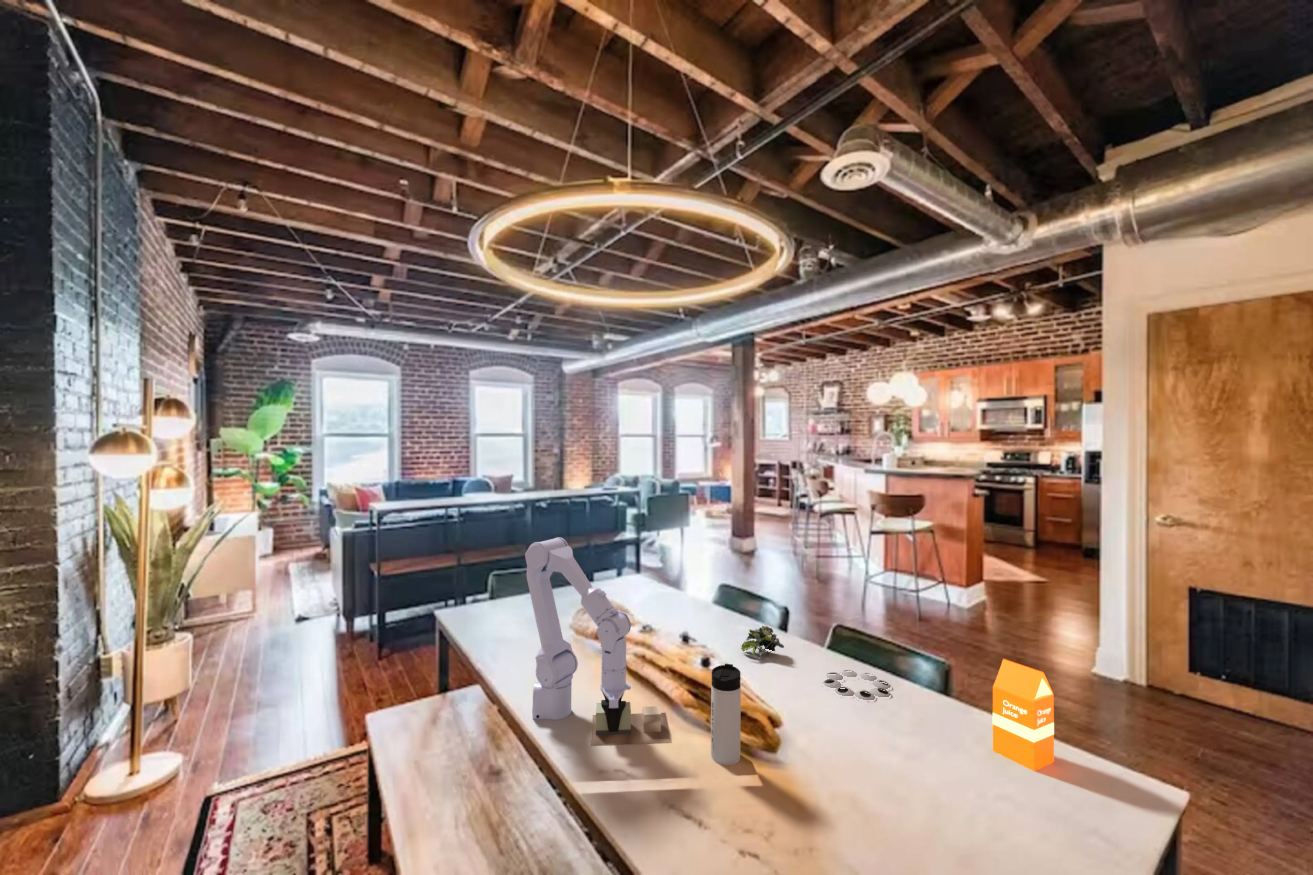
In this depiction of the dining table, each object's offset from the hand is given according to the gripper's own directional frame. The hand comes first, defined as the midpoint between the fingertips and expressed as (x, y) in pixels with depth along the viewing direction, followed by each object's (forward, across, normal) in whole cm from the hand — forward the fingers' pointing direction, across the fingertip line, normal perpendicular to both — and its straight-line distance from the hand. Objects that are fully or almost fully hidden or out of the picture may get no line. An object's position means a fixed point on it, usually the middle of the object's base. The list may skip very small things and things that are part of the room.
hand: (613, 724), depth 130 cm
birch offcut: (+1, 0, -9) cm, 9 cm away
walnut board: (+2, 0, -4) cm, 5 cm away
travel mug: (+3, -13, -24) cm, 27 cm away
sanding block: (+1, 0, 0) cm, 1 cm away
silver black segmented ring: (+3, +22, -69) cm, 72 cm away
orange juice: (+3, -15, -90) cm, 91 cm away
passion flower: (+3, +46, -48) cm, 67 cm away
